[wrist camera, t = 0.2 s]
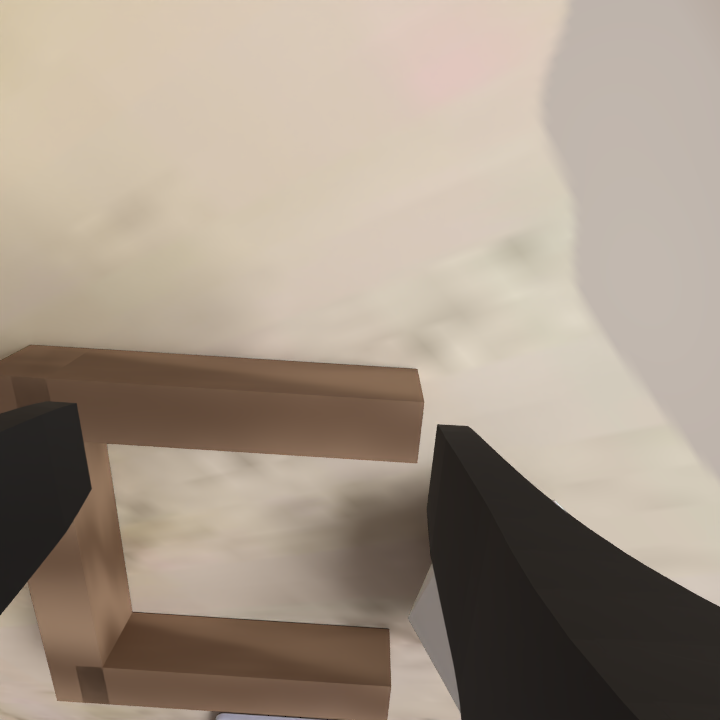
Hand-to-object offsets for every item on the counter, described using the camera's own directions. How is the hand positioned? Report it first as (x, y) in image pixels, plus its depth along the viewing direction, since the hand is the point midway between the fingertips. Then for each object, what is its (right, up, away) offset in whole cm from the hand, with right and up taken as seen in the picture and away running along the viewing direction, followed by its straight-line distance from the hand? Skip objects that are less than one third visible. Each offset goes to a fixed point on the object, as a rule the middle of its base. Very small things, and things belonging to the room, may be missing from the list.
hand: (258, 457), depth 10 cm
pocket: (-3, -6, +13) cm, 15 cm away
